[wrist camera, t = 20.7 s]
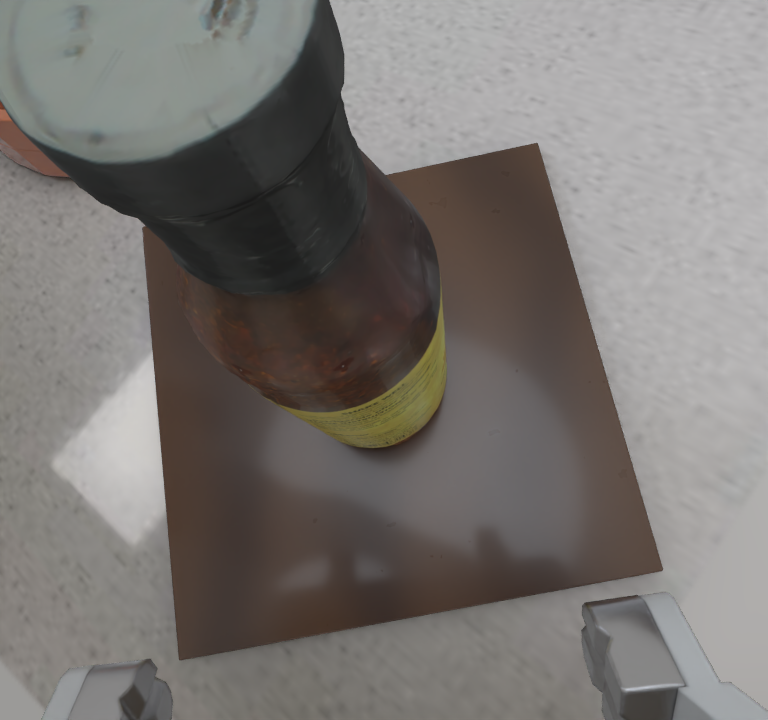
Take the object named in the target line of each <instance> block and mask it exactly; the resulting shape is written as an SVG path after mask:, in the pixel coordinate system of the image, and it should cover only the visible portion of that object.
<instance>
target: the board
mask: <svg viewBox="0 0 768 720" xmlns="http://www.w3.org/2000/svg"><path fill="white" fill-rule="evenodd" d="M386 177H387V178H388V179H389V180H390V181H391V182H392V183H393V184H394V185H395V186H396V187H397V188H398V189H399V190H400V191H401V192H402V193H403V194H404V195H405V196H406V197H407V198H408V199H409V200H410V202H411V203H412V204H413V205H414V206H415V208H416V209H417V210H418V212H419V213H420V215H421V216H422V218H423V220H424V222H425V224H426V226H427V228H428V230H429V231H430V234H431V237H432V240H433V243H434V246H435V249H436V252H437V257H438V263H439V268H440V277H441V286H442V303H443V318H444V332H445V348H446V362H447V379H446V385H445V390H444V394H443V396H442V399H441V402H440V406H439V408H438V409H437V411H436V412H435V413H434V415H433V417H432V418H431V419H430V420H429V421H428V423H427V424H426V425H425V426H424V427H423V428H422V429H421V430H419V431H418V432H417V433H416V434H415V435H413V436H412V437H411V438H410V439H409V440H407V441H405V442H402V443H400V444H398V445H391V446H387V447H379V448H363V447H356V446H351V445H348V444H345V443H342V442H340V441H338V440H336V439H335V438H333V437H331V436H329V435H327V434H326V433H324V432H323V431H321V430H319V429H317V428H315V427H314V426H312V425H310V424H308V423H307V422H305V421H303V420H301V419H300V418H298V417H296V416H295V415H293V414H291V413H290V412H288V411H286V410H284V409H283V408H281V407H279V406H278V405H276V404H274V403H273V402H271V401H269V400H268V399H266V398H264V397H263V396H262V395H260V394H259V393H258V392H256V391H255V390H254V389H252V388H251V387H250V386H249V385H248V384H247V383H246V382H244V381H243V380H242V379H240V378H239V377H238V376H236V375H234V374H232V373H230V372H229V371H228V370H227V369H226V368H225V367H224V366H222V365H221V364H220V363H218V362H217V361H216V359H215V358H214V357H213V356H212V355H211V354H210V353H209V351H208V350H207V349H206V348H205V346H204V345H203V344H202V343H201V342H200V341H199V339H198V337H197V335H196V334H195V333H194V331H193V328H192V326H191V325H190V323H189V321H188V319H187V318H186V316H185V315H184V313H183V310H182V308H181V307H180V306H179V304H178V298H177V292H176V271H177V263H176V262H175V261H174V258H173V256H172V254H171V252H170V250H169V249H168V248H167V246H166V245H165V243H164V242H163V241H162V240H161V239H160V238H159V237H157V236H156V235H155V234H154V233H153V232H152V231H151V230H150V229H149V228H148V227H147V226H146V227H143V228H142V230H143V242H144V254H145V266H146V277H147V289H148V301H149V312H150V324H151V336H152V348H153V359H154V371H155V383H156V395H157V406H158V418H159V430H160V442H161V453H162V465H163V477H164V489H165V500H166V512H167V524H168V536H169V547H170V559H171V571H172V583H173V594H174V606H175V618H176V630H177V641H178V653H179V660H185V659H191V658H196V657H202V656H207V655H212V654H218V653H223V652H229V651H234V650H239V649H245V648H250V647H255V646H261V645H266V644H272V643H277V642H282V641H288V640H293V639H299V638H304V637H309V636H315V635H320V634H326V633H331V632H336V631H342V630H347V629H352V628H358V627H363V626H369V625H374V624H379V623H385V622H390V621H396V620H401V619H406V618H412V617H417V616H423V615H428V614H433V613H439V612H444V611H449V610H455V609H460V608H466V607H471V606H476V605H482V604H487V603H493V602H498V601H503V600H509V599H514V598H519V597H525V596H530V595H536V594H541V593H546V592H552V591H557V590H563V589H568V588H573V587H579V586H584V585H590V584H595V583H600V582H606V581H611V580H616V579H622V578H627V577H633V576H638V575H643V574H649V573H654V572H660V571H663V567H662V564H661V561H660V557H659V554H658V550H657V547H656V544H655V540H654V537H653V533H652V530H651V527H650V523H649V520H648V516H647V513H646V510H645V506H644V503H643V499H642V496H641V493H640V489H639V486H638V482H637V479H636V476H635V472H634V469H633V465H632V462H631V459H630V455H629V452H628V448H627V445H626V442H625V438H624V435H623V431H622V428H621V425H620V421H619V418H618V414H617V411H616V408H615V404H614V401H613V397H612V394H611V391H610V387H609V384H608V380H607V377H606V374H605V370H604V367H603V363H602V360H601V357H600V353H599V350H598V346H597V343H596V340H595V336H594V333H593V329H592V326H591V323H590V319H589V316H588V312H587V309H586V306H585V302H584V299H583V295H582V292H581V289H580V285H579V282H578V278H577V275H576V272H575V268H574V265H573V261H572V258H571V255H570V251H569V248H568V244H567V241H566V238H565V234H564V231H563V227H562V224H561V221H560V217H559V214H558V210H557V207H556V204H555V200H554V197H553V193H552V190H551V187H550V183H549V180H548V176H547V173H546V170H545V166H544V163H543V159H542V156H541V153H540V149H539V146H538V143H534V144H530V145H525V146H520V147H515V148H511V149H506V150H501V151H497V152H492V153H487V154H483V155H478V156H473V157H469V158H464V159H459V160H455V161H450V162H445V163H441V164H436V165H431V166H427V167H422V168H417V169H413V170H408V171H403V172H399V173H394V174H389V175H386Z"/></svg>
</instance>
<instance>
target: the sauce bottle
mask: <svg viewBox="0 0 768 720" xmlns="http://www.w3.org/2000/svg"><path fill="white" fill-rule="evenodd" d="M343 84H344V51H343V47H342V42H341V37H340V33H339V30H338V26H337V23H336V20H335V17H334V15H333V11H332V8H331V5H330V2H329V0H0V102H1V103H2V105H3V107H4V108H5V110H6V112H7V114H8V115H9V117H10V119H11V120H12V121H13V122H14V124H15V125H16V126H17V127H18V128H19V130H20V131H21V132H22V133H23V134H24V135H25V136H26V137H27V138H28V139H29V140H30V141H31V142H32V143H33V144H34V145H35V146H36V147H37V148H38V149H39V150H40V151H41V152H43V153H44V154H45V155H46V156H47V157H48V158H49V159H50V160H51V161H52V162H53V163H54V164H55V165H56V166H57V167H58V168H59V169H61V170H62V171H63V172H64V173H66V174H67V175H68V176H69V177H70V178H71V179H72V180H73V181H74V182H75V183H76V184H77V185H78V186H79V187H80V188H82V189H83V190H85V191H86V192H88V193H89V194H90V195H91V196H93V197H94V198H95V199H96V200H98V201H99V202H100V203H102V204H104V205H107V206H109V207H111V208H113V209H115V210H116V211H118V212H119V213H121V214H125V215H128V216H132V217H135V218H138V219H139V220H140V221H141V222H142V223H143V224H145V225H146V226H147V227H148V228H149V229H150V230H151V231H152V232H153V233H154V234H155V235H156V236H157V237H159V238H160V239H161V240H162V241H163V242H164V243H165V245H166V246H167V248H168V249H169V250H170V252H171V254H172V256H173V258H174V261H175V262H176V263H177V271H176V292H177V298H178V304H179V306H180V307H181V308H182V310H183V313H184V315H185V316H186V318H187V319H188V321H189V323H190V325H191V326H192V328H193V331H194V333H195V334H196V335H197V337H198V339H199V341H200V342H201V343H202V344H203V345H204V346H205V348H206V349H207V350H208V351H209V353H210V354H211V355H212V356H213V357H214V358H215V359H216V361H217V362H218V363H220V364H221V365H222V366H224V367H225V368H226V369H227V370H228V371H229V372H230V373H232V374H234V375H236V376H238V377H239V378H240V379H242V380H243V381H244V382H246V383H247V384H248V385H249V386H250V387H251V388H252V389H254V390H255V391H256V392H258V393H259V394H260V395H262V396H263V397H264V398H266V399H268V400H269V401H271V402H273V403H274V404H276V405H278V406H279V407H281V408H283V409H284V410H286V411H288V412H290V413H291V414H293V415H295V416H296V417H298V418H300V419H301V420H303V421H305V422H307V423H308V424H310V425H312V426H314V427H315V428H317V429H319V430H321V431H323V432H324V433H326V434H327V435H329V436H331V437H333V438H335V439H336V440H338V441H340V442H342V443H345V444H348V445H351V446H356V447H363V448H379V447H387V446H391V445H398V444H400V443H402V442H405V441H407V440H409V439H410V438H411V437H412V436H413V435H415V434H416V433H417V432H418V431H419V430H421V429H422V428H423V427H424V426H425V425H426V424H427V423H428V421H429V420H430V419H431V418H432V417H433V415H434V413H435V412H436V411H437V409H438V408H439V406H440V402H441V399H442V396H443V394H444V390H445V385H446V379H447V362H446V348H445V332H444V318H443V303H442V286H441V277H440V268H439V263H438V257H437V252H436V249H435V246H434V243H433V240H432V237H431V234H430V231H429V230H428V228H427V226H426V224H425V222H424V220H423V218H422V216H421V215H420V213H419V212H418V210H417V209H416V208H415V206H414V205H413V204H412V203H411V202H410V200H409V199H408V198H407V197H406V196H405V195H404V194H403V193H402V192H401V191H400V190H399V189H398V188H397V187H396V186H395V185H394V184H393V183H392V182H391V181H390V180H389V179H388V178H387V177H386V175H385V174H384V173H383V172H382V171H381V170H380V169H379V168H378V167H377V166H376V165H375V164H374V163H373V162H372V161H371V160H370V159H369V158H368V157H367V156H366V155H365V154H364V153H363V152H362V151H361V150H360V149H359V148H358V146H357V143H356V141H355V138H354V137H353V136H352V134H351V131H350V128H349V125H348V121H347V117H346V114H345V110H344V103H343V100H342V98H341V90H342V87H343Z"/></svg>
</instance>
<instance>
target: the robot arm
mask: <svg viewBox="0 0 768 720" xmlns="http://www.w3.org/2000/svg"><path fill="white" fill-rule="evenodd" d="M582 616H583V619H584V622H585V625H586V626H585V627H584V628H583V629H582V630H581V633H582V647H583V653H584V658H585V662H586V665H587V669H588V672H589V675H590V678H591V681H592V684H593V685H594V686H595V687H596V688H597V689H599V690H600V691H601V692H602V693H603V694H602V713H603V715H604V718H605V720H768V710H766V709H765V708H764V707H763V706H761V705H760V704H759V703H757V702H756V701H755V700H753V699H752V698H751V697H749V696H748V695H747V694H745V693H744V692H743V691H741V690H740V689H739V688H737V687H736V686H735V685H733V684H732V683H731V682H720V680H719V678H718V676H717V674H716V673H715V671H714V669H713V667H712V665H711V663H710V662H709V660H708V658H707V656H706V655H705V653H704V651H703V649H702V647H701V645H700V644H699V642H698V640H697V638H696V636H695V634H694V633H693V631H692V629H691V627H690V625H689V624H688V622H687V620H686V618H685V616H684V615H683V613H682V611H681V609H680V607H679V605H678V604H677V602H676V600H675V598H674V597H673V596H672V595H671V594H670V593H668V592H661V593H654V594H647V595H640V596H638V595H634V596H627V597H620V598H614V599H607V600H600V601H593V602H586V603H584V604H583V606H582ZM156 672H157V667H156V666H155V664H154V663H153V662H152V660H151V659H144V660H136V661H127V662H119V663H111V664H102V665H91V666H83V667H76V668H69V669H68V670H67V671H66V672H65V674H64V675H63V676H62V677H61V678H60V680H59V682H58V684H57V686H56V689H55V691H54V693H53V695H52V697H51V699H50V701H49V703H48V706H47V708H46V710H45V712H44V714H43V716H42V718H41V720H172V709H173V699H172V695H171V690H170V688H169V686H168V685H167V683H166V682H165V681H163V680H161V679H159V678H157V677H155V675H156Z"/></svg>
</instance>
